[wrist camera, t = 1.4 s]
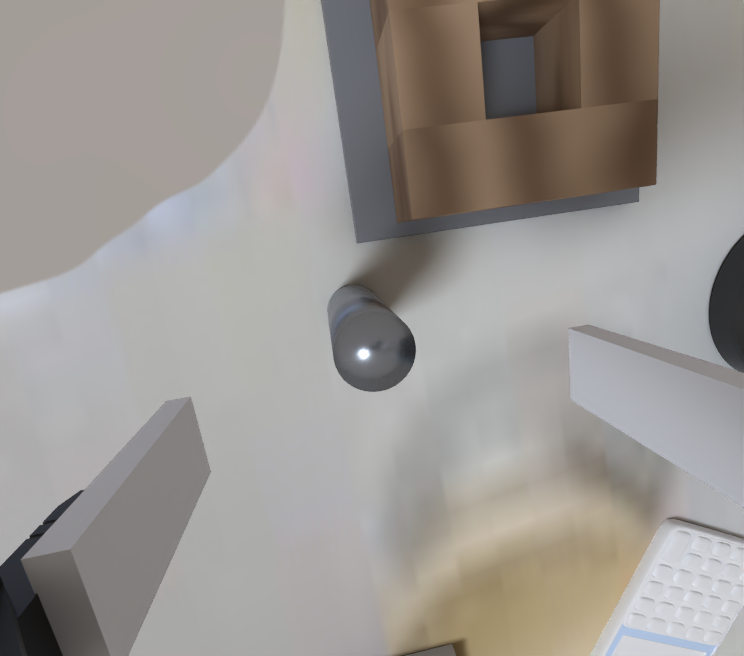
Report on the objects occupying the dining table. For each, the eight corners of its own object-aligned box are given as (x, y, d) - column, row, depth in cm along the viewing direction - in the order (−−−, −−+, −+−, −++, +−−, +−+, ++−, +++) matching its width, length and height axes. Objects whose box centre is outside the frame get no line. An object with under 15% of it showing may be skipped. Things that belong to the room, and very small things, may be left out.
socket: (630, -66, 28) (712, -146, 22) (629, 202, 32) (697, 194, 26) (314, -41, 26) (313, -123, 20) (356, 243, 30) (366, 243, 24)
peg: (375, 280, 31) (410, 305, 19) (382, 331, 32) (420, 383, 20) (323, 289, 30) (326, 318, 19) (332, 339, 31) (340, 398, 20)
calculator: (760, 541, 42) (780, 554, 41) (672, 690, 45) (687, 709, 44) (660, 512, 40) (677, 525, 38) (574, 672, 43) (585, 692, 41)
